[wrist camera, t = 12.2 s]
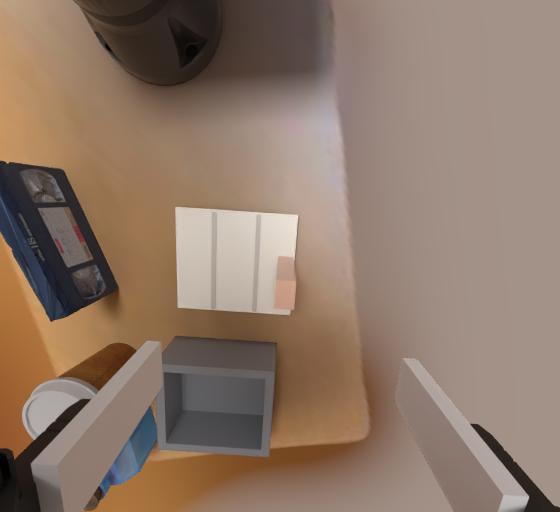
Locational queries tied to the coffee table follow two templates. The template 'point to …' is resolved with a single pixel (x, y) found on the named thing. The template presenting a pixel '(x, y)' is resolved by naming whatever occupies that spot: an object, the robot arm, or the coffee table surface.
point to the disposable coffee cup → (73, 387)
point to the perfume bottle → (128, 458)
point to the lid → (236, 260)
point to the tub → (216, 396)
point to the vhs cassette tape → (52, 239)
